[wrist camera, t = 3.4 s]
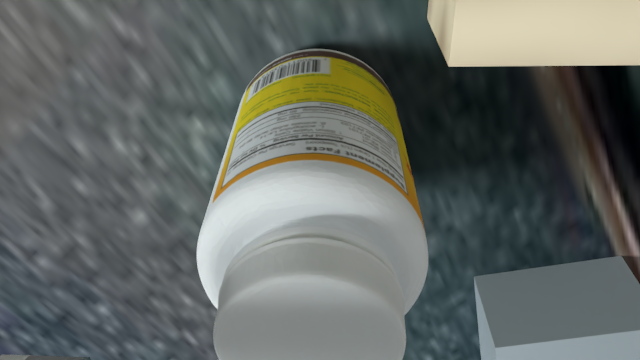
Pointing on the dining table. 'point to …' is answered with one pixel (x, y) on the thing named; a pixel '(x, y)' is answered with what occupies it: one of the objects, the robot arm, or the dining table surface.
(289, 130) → the supplement bottle
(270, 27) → the dining table surface
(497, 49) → the beech block
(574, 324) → the greyblue block
